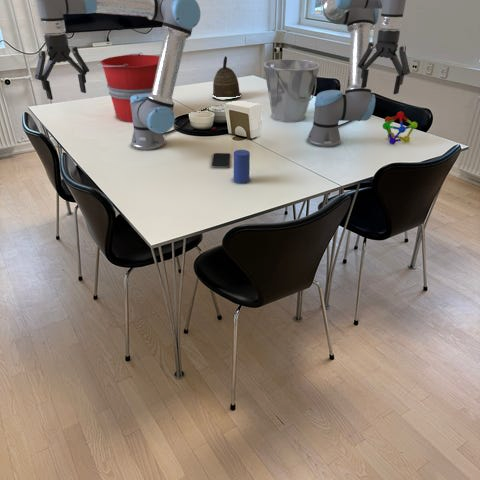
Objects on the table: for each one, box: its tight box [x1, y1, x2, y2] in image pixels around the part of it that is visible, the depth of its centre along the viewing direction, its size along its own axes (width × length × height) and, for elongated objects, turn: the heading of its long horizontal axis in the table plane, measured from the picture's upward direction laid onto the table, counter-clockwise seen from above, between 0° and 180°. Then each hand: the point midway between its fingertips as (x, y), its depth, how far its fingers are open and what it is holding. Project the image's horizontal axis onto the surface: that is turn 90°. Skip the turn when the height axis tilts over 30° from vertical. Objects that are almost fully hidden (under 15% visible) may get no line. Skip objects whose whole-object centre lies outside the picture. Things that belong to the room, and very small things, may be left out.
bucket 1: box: [97, 52, 160, 123], centre depth 239 cm, size 35×35×30 cm
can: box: [233, 149, 251, 185], centre depth 170 cm, size 6×6×12 cm
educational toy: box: [382, 110, 418, 145], centre depth 207 cm, size 16×13×15 cm
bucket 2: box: [263, 58, 321, 123], centre depth 238 cm, size 30×30×28 cm
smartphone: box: [211, 152, 231, 169], centre depth 190 cm, size 7×1×15 cm
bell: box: [212, 56, 242, 97], centre depth 278 cm, size 19×26×20 cm
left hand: (67, 95), depth 166 cm, fingers open, 13 cm apart
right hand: (379, 90), depth 169 cm, fingers open, 13 cm apart
